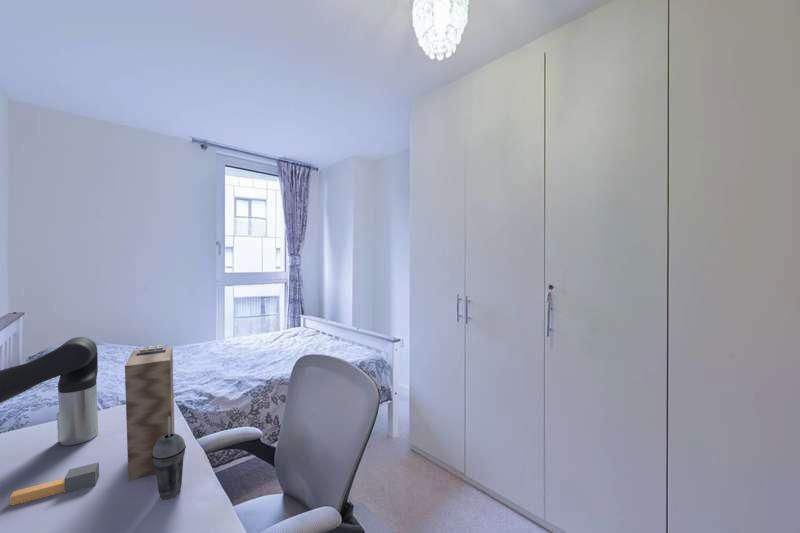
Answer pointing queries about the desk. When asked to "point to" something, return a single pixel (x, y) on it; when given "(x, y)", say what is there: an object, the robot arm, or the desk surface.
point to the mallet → (59, 484)
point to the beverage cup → (169, 464)
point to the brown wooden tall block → (148, 405)
